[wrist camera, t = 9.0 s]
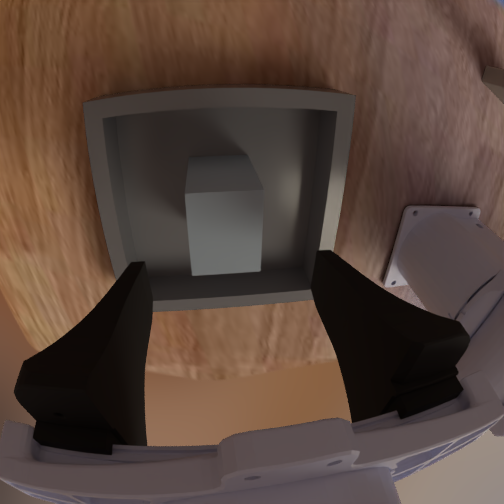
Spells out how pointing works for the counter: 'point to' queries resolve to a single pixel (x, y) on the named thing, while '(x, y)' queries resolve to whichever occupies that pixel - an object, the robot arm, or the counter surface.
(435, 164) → the counter surface
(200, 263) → the tall grey cuboid
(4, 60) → the counter surface
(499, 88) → the lighter
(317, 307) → the robot arm
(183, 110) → the dark grey square tray
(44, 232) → the counter surface
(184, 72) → the counter surface
